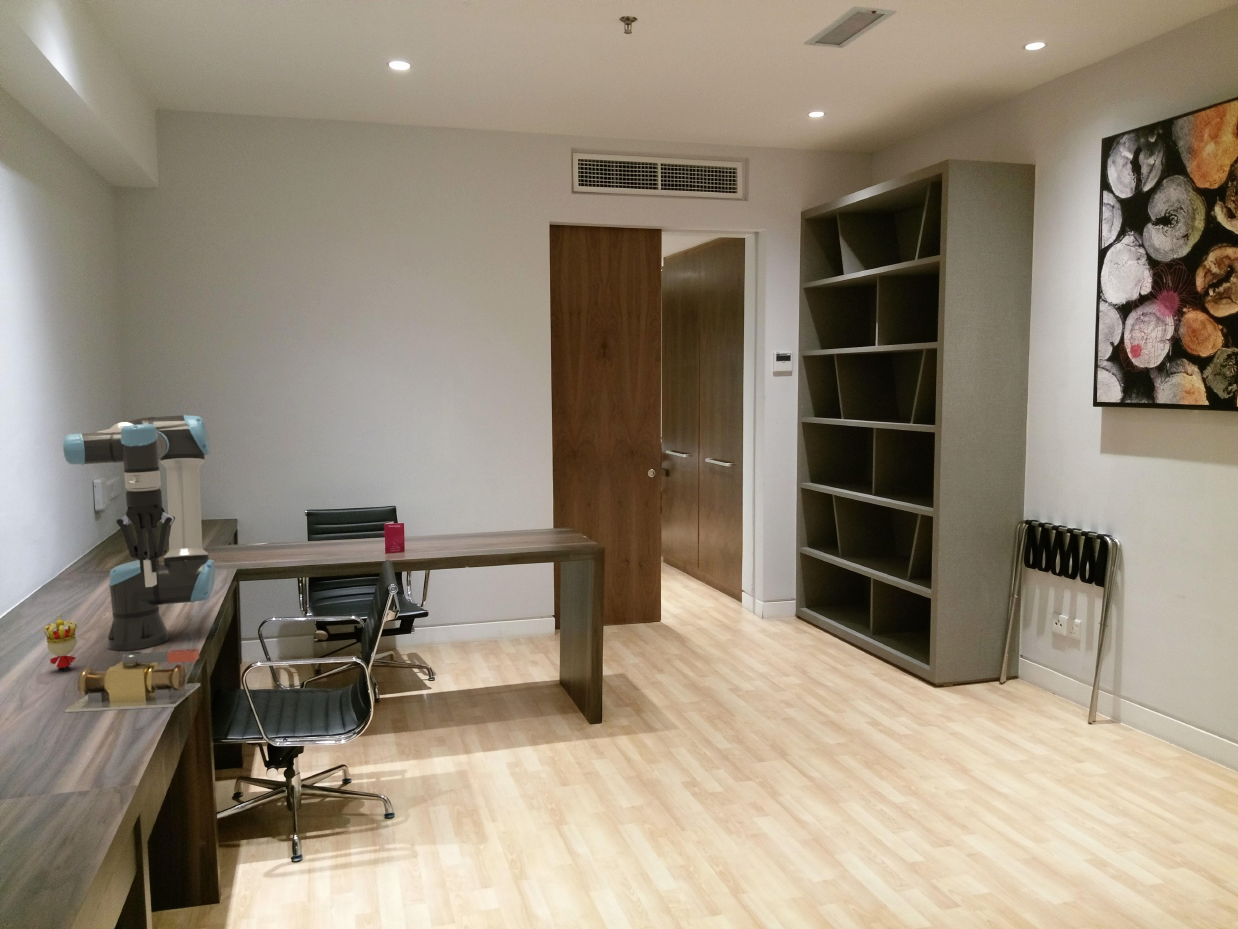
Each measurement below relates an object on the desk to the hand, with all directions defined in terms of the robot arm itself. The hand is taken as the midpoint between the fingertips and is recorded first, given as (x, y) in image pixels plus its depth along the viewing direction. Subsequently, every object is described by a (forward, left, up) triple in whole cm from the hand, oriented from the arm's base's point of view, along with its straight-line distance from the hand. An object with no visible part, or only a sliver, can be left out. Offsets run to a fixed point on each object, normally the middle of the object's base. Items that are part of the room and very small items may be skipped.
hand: (151, 585), depth 213 cm
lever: (+10, +5, -16) cm, 20 cm away
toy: (-14, -30, -25) cm, 41 cm away
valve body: (+10, -1, -24) cm, 26 cm away
